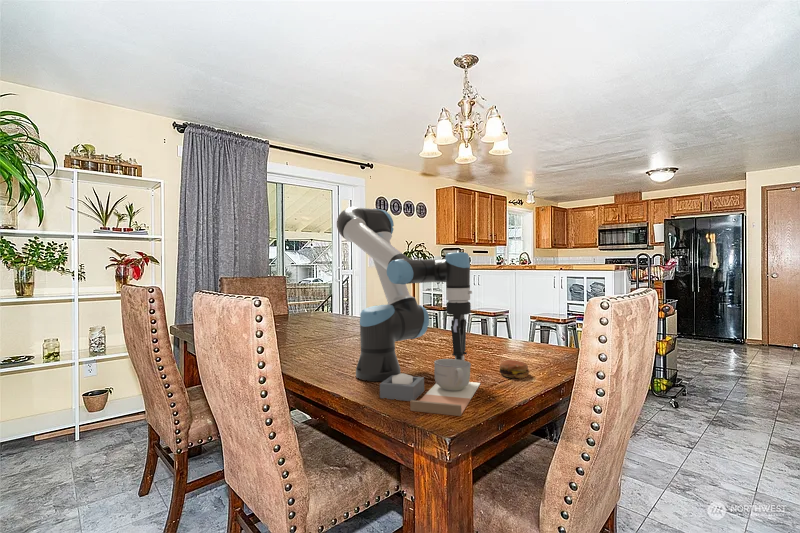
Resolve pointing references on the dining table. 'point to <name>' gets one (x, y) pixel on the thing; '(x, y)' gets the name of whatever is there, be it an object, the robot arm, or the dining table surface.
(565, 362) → the dining table surface
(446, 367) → the teacup
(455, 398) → the board
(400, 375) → the white faceted ball
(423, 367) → the dining table surface
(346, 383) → the dining table surface
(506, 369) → the burger
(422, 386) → the grey square tray
